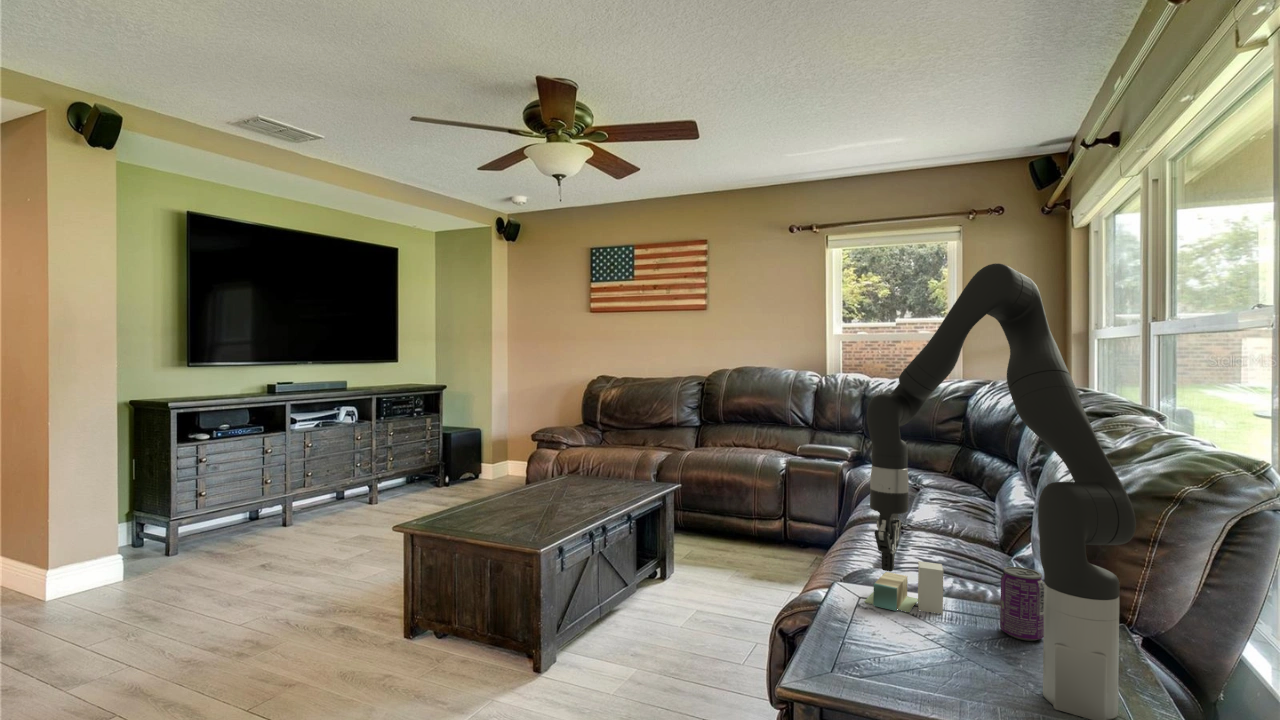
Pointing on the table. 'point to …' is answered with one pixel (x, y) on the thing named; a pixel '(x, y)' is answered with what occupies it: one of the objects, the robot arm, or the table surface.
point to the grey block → (930, 587)
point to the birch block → (890, 591)
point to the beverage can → (1022, 603)
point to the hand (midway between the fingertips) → (887, 569)
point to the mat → (905, 606)
